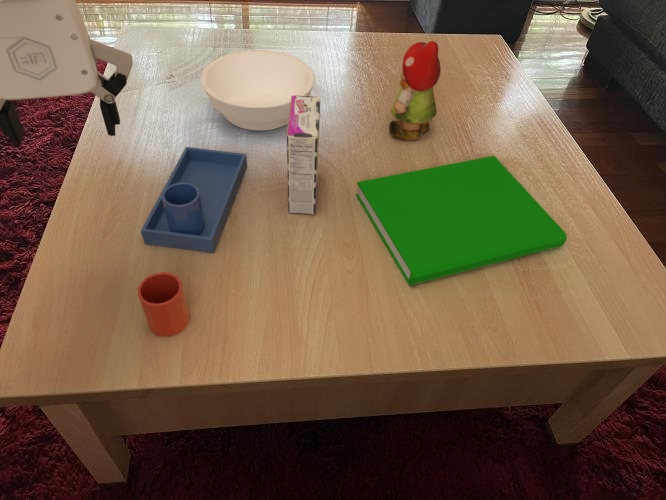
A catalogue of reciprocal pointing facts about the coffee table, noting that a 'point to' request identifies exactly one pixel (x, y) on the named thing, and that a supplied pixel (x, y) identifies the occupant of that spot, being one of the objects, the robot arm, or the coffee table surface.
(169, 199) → the blue cup
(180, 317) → the red cup
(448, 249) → the book
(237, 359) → the coffee table surface
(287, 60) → the bowl
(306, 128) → the candy bar box
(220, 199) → the blue tray
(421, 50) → the figurine
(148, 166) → the coffee table surface
